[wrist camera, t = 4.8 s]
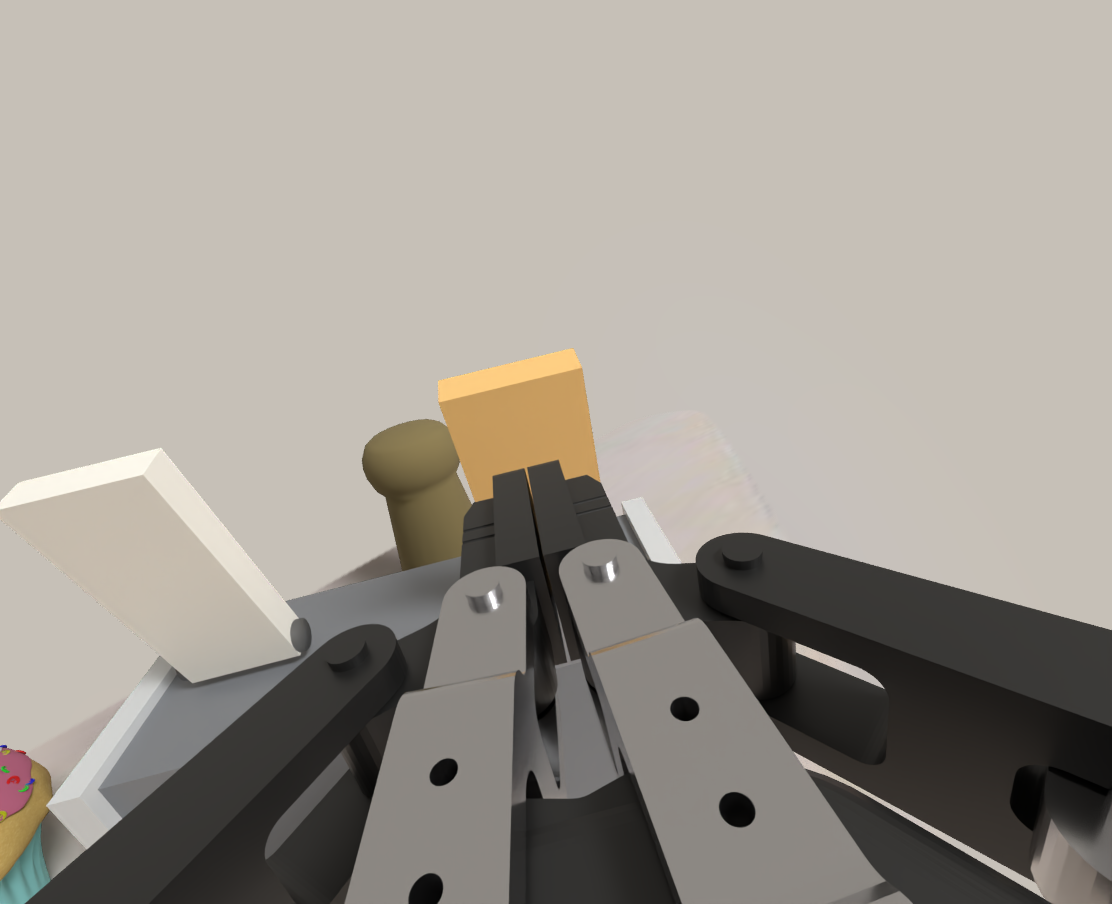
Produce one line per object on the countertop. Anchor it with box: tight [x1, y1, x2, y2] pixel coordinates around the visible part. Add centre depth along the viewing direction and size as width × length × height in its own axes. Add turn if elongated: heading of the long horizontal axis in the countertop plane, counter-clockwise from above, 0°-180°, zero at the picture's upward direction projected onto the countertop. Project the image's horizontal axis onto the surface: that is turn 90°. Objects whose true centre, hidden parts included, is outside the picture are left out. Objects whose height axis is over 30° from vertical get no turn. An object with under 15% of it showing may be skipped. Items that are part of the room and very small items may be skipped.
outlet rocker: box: [438, 348, 600, 502], centre depth 18 cm, size 4×1×9 cm, turn 97°
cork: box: [362, 419, 472, 571], centre depth 31 cm, size 6×6×11 cm
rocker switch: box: [0, 448, 312, 683], centre depth 17 cm, size 4×1×9 cm, turn 97°
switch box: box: [46, 497, 682, 859], centre depth 22 cm, size 21×9×7 cm, turn 97°
